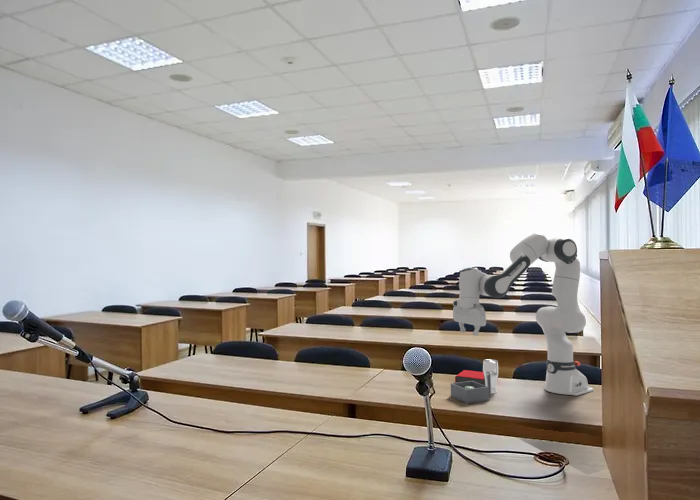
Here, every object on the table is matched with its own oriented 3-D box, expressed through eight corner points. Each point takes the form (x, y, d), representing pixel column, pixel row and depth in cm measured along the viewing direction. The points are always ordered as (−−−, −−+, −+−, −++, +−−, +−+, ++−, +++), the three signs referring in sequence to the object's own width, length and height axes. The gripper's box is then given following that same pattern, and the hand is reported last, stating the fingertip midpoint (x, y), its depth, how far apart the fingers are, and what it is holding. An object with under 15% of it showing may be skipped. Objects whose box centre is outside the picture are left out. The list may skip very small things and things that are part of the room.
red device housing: (497, 383, 243) (497, 373, 243) (491, 390, 231) (491, 379, 231) (463, 379, 252) (463, 369, 252) (455, 385, 239) (455, 375, 239)
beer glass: (499, 395, 221) (498, 362, 221) (483, 394, 222) (483, 362, 223) (497, 391, 228) (497, 359, 228) (482, 390, 229) (482, 359, 230)
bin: (472, 393, 224) (472, 380, 224) (488, 400, 213) (488, 387, 213) (450, 396, 219) (450, 383, 219) (466, 403, 208) (466, 389, 208)
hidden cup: (470, 395, 218) (470, 385, 219) (475, 397, 215) (475, 387, 215) (463, 396, 217) (463, 386, 217) (468, 398, 213) (468, 388, 213)
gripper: (489, 305, 208) (489, 336, 208) (461, 301, 227) (461, 330, 227) (477, 305, 206) (477, 337, 205) (450, 301, 225) (450, 331, 224)
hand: (469, 333), depth 216 cm, fingers open, 8 cm apart
